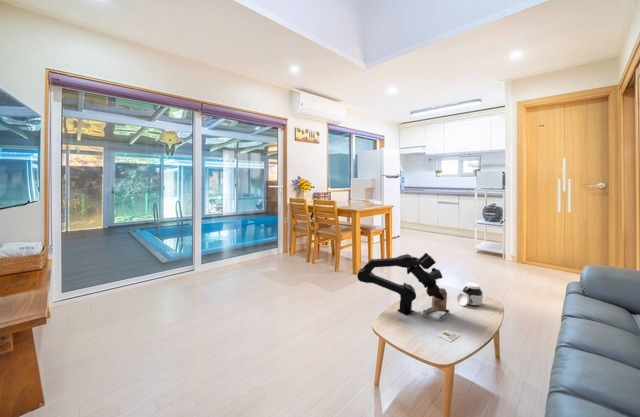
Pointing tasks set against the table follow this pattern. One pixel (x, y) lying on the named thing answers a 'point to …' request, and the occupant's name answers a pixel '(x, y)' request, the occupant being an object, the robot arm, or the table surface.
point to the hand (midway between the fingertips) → (442, 296)
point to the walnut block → (440, 301)
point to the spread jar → (470, 295)
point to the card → (448, 335)
